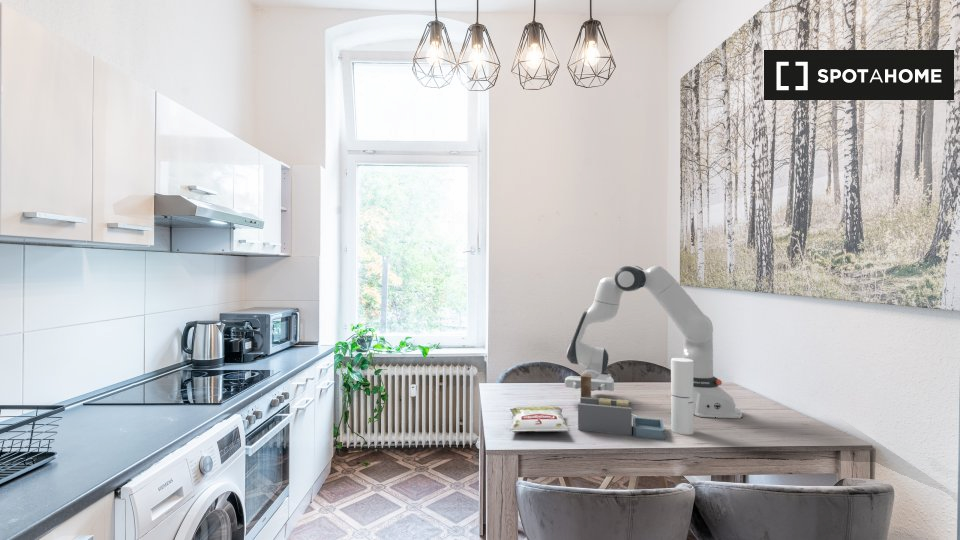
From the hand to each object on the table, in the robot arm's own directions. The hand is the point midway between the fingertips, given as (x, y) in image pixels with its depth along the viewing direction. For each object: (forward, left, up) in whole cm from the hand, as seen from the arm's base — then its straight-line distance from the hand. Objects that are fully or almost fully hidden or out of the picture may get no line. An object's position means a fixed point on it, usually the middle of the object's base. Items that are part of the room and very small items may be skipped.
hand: (587, 387), depth 181 cm
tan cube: (-8, +20, -3) cm, 22 cm away
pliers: (-11, +1, -10) cm, 15 cm away
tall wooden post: (0, +9, -9) cm, 13 cm away
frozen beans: (+16, +26, -9) cm, 32 cm away
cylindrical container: (-34, +15, -9) cm, 38 cm away
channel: (-8, +20, -9) cm, 23 cm away
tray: (-22, +20, -9) cm, 31 cm away
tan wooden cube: (-14, +20, -3) cm, 24 cm away
